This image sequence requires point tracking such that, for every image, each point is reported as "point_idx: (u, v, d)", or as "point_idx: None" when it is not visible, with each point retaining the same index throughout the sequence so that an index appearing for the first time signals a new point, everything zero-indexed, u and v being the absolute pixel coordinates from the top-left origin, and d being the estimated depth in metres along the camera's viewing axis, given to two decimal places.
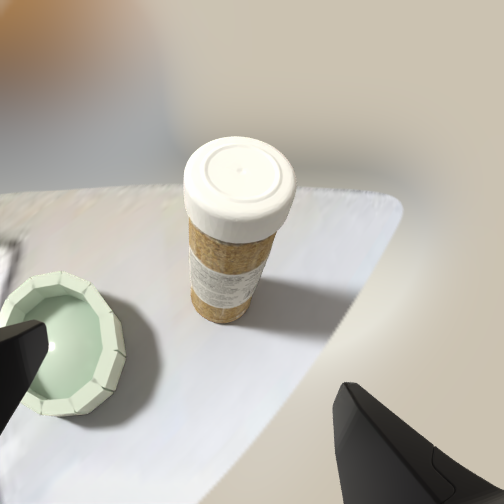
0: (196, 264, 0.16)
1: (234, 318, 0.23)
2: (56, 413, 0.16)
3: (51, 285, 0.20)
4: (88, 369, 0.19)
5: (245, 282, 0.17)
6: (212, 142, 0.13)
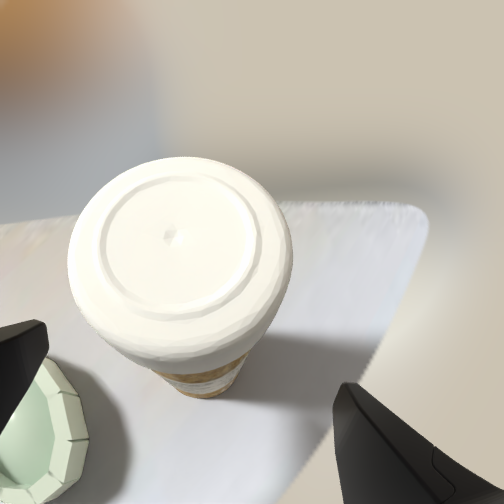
0: None
1: (219, 392, 0.16)
2: (17, 503, 0.09)
3: None
4: (47, 452, 0.13)
5: (219, 381, 0.10)
6: (124, 175, 0.06)
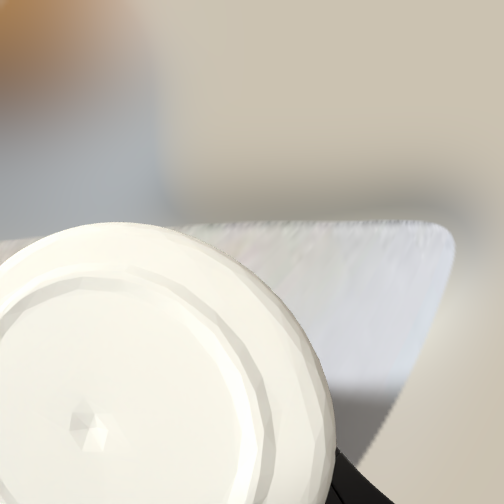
0: None
1: None
2: None
3: None
4: None
5: None
6: (8, 266, 0.03)
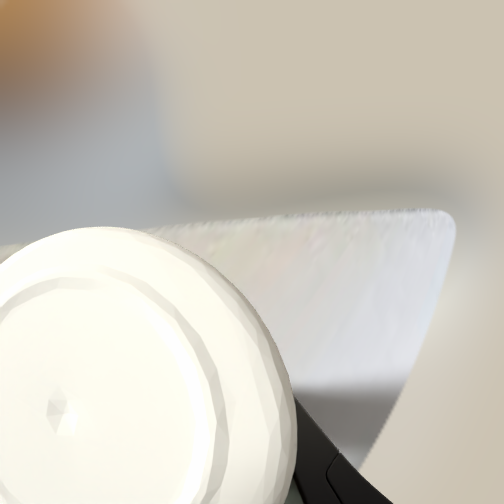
0: None
1: None
2: None
3: None
4: None
5: None
6: (0, 270, 0.03)
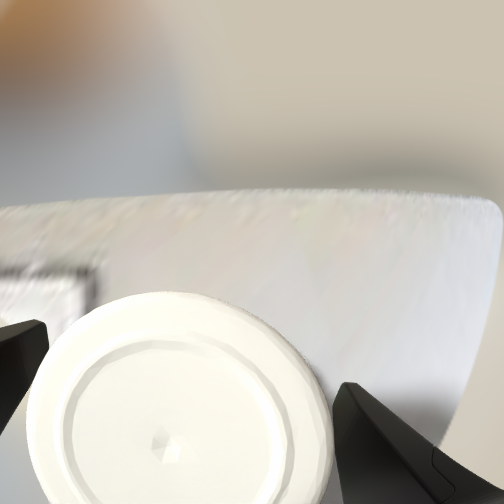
0: None
1: None
2: None
3: None
4: None
5: None
6: (82, 328, 0.04)
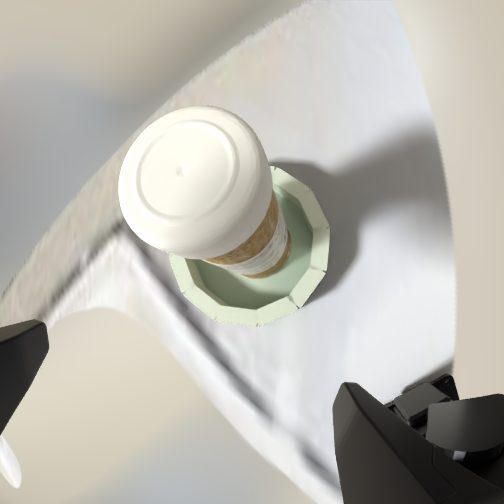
0: (220, 266, 0.14)
1: (287, 257, 0.21)
2: (311, 291, 0.19)
3: None
4: (293, 237, 0.21)
5: (276, 240, 0.14)
6: (125, 164, 0.09)
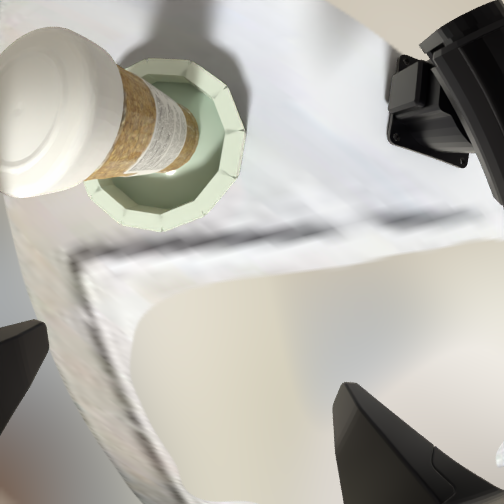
0: (146, 159, 0.11)
1: (191, 115, 0.18)
2: (235, 109, 0.16)
3: None
4: (178, 101, 0.18)
5: (159, 94, 0.11)
6: None
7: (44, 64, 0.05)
